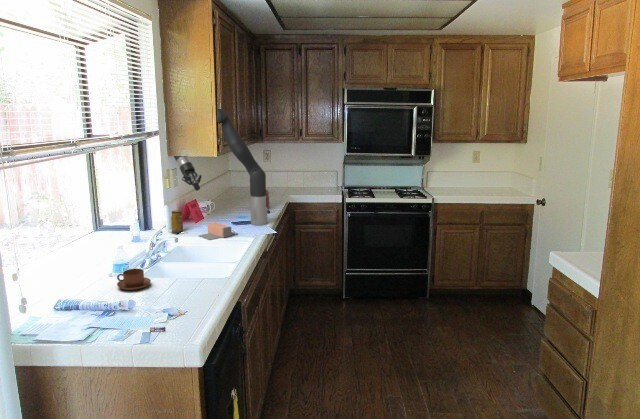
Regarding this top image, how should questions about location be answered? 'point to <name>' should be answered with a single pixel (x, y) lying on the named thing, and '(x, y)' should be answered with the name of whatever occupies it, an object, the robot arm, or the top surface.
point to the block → (219, 229)
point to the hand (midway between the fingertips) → (198, 189)
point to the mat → (212, 236)
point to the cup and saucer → (133, 280)
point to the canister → (267, 198)
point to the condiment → (177, 222)
